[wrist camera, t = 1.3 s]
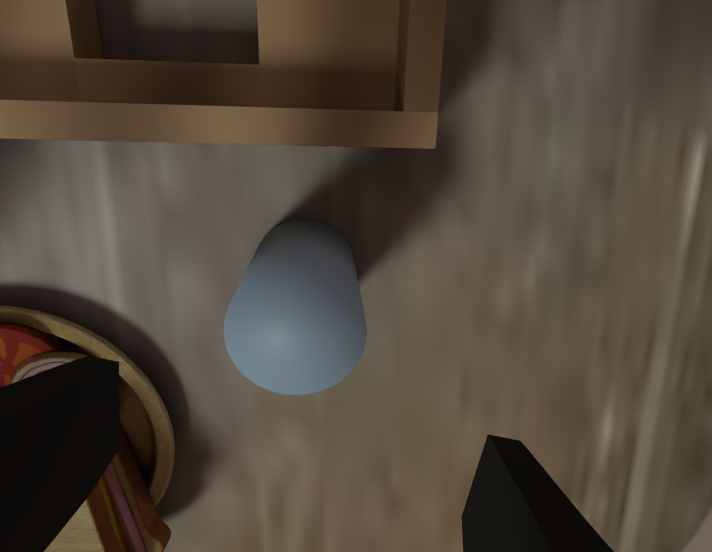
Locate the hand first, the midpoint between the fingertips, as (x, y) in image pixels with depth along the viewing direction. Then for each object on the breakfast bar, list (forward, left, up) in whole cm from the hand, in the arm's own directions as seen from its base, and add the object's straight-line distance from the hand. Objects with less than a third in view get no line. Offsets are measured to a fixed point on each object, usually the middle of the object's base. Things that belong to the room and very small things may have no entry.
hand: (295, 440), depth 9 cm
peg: (0, 0, -10) cm, 10 cm away
